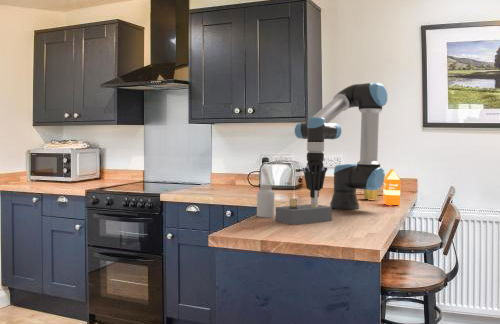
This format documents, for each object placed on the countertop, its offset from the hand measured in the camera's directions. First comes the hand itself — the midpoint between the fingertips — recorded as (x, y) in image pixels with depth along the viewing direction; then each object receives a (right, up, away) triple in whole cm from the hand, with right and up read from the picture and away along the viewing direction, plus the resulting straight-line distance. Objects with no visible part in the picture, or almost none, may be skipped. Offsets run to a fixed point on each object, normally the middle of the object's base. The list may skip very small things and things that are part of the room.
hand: (314, 204), depth 217 cm
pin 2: (0, -6, 0) cm, 6 cm away
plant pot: (+44, -4, +76) cm, 88 cm away
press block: (-5, -7, -3) cm, 9 cm away
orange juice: (+50, -5, +55) cm, 75 cm away
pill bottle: (-22, -6, +8) cm, 24 cm away
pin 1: (-10, -2, -6) cm, 12 cm away
